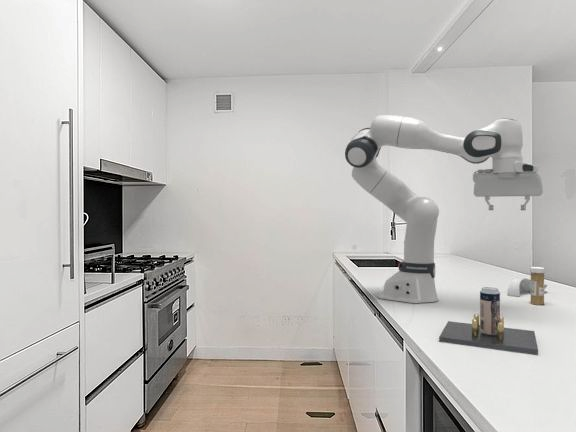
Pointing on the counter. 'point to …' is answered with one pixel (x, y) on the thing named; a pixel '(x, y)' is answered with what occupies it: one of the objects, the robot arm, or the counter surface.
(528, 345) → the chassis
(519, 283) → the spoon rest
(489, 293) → the beer can
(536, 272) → the sprinkles bottle
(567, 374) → the counter surface
